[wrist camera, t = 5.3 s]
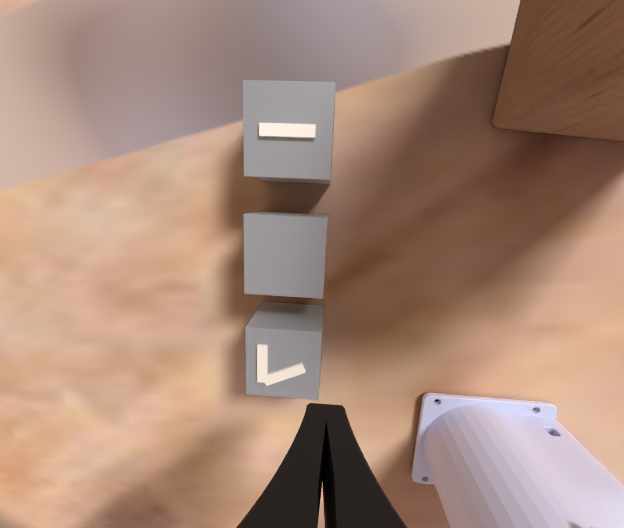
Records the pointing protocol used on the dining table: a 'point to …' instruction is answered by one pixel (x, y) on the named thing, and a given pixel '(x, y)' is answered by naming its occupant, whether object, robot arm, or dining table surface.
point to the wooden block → (565, 70)
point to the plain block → (285, 253)
